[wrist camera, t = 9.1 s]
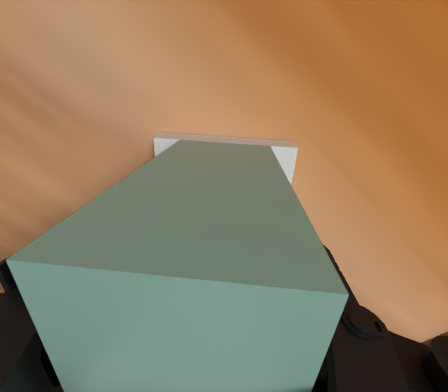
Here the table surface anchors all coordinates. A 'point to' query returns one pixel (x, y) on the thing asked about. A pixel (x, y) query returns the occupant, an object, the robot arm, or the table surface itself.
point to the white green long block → (187, 276)
